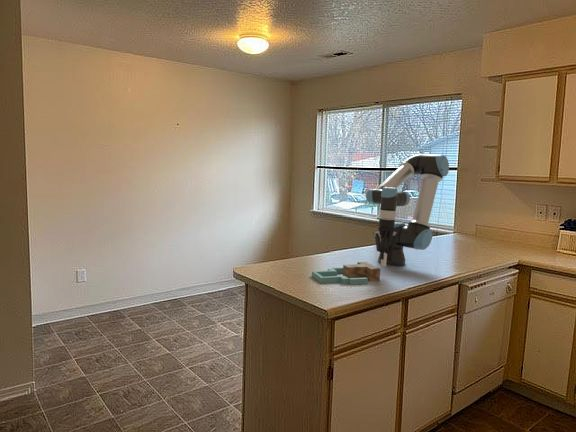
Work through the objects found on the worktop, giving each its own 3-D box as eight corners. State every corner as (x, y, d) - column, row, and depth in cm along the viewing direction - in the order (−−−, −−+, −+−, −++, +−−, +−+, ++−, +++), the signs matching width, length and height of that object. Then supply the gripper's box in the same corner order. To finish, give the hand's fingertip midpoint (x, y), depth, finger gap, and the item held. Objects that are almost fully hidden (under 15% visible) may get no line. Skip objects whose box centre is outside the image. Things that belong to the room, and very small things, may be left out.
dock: (347, 271, 220) (347, 267, 220) (367, 283, 200) (367, 278, 200) (308, 273, 213) (308, 268, 213) (324, 286, 194) (325, 280, 193)
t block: (365, 273, 219) (366, 261, 219) (379, 280, 206) (380, 268, 206) (338, 274, 215) (339, 262, 214) (351, 282, 202) (352, 269, 201)
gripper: (394, 217, 217) (390, 263, 219) (371, 217, 212) (367, 264, 215) (402, 220, 209) (398, 267, 212) (379, 219, 205) (375, 267, 208)
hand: (383, 265), depth 214 cm, fingers closed
